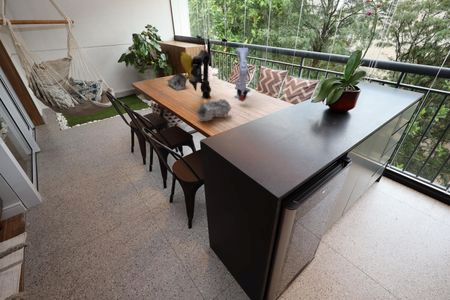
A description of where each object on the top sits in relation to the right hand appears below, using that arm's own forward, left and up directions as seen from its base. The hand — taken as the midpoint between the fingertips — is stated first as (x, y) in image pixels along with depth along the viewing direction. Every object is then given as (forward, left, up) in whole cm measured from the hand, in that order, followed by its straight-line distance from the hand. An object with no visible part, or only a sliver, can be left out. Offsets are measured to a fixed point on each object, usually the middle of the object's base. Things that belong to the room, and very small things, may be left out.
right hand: (242, 98), depth 180 cm
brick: (0, 0, -1) cm, 1 cm away
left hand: (+22, -30, +6) cm, 38 cm away
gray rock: (-2, -90, -6) cm, 91 cm away
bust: (+37, -2, -6) cm, 37 cm away
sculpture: (-38, -108, -6) cm, 114 cm away
